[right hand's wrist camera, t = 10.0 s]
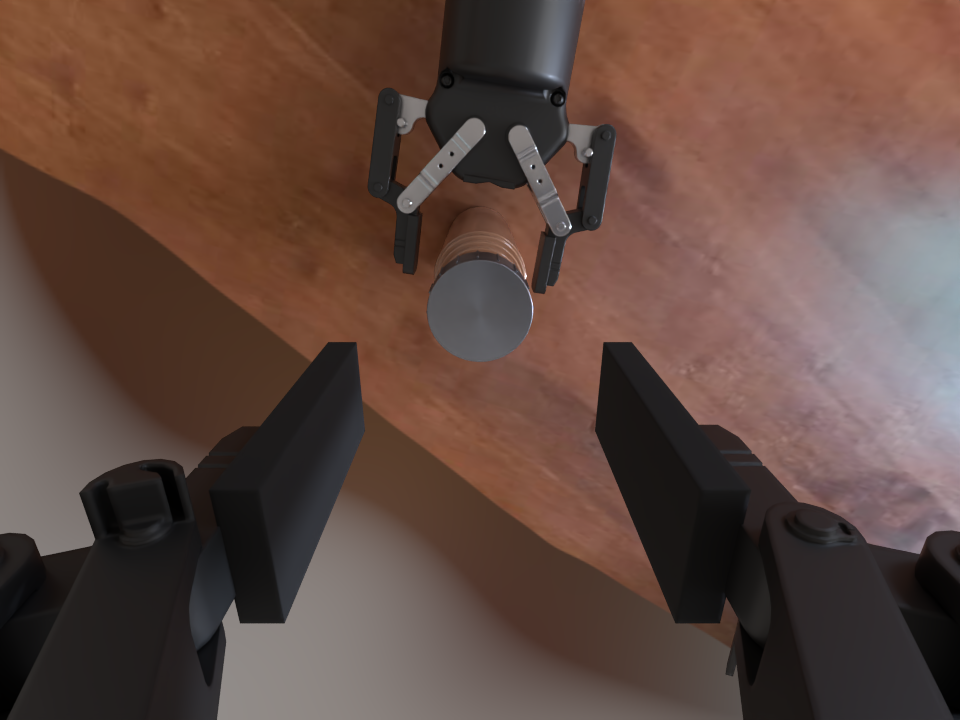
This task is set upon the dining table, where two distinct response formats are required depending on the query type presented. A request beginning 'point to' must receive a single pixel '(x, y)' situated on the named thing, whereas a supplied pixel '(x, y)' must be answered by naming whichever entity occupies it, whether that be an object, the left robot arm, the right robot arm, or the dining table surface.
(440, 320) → the cap
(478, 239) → the bottle
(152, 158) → the dining table surface
